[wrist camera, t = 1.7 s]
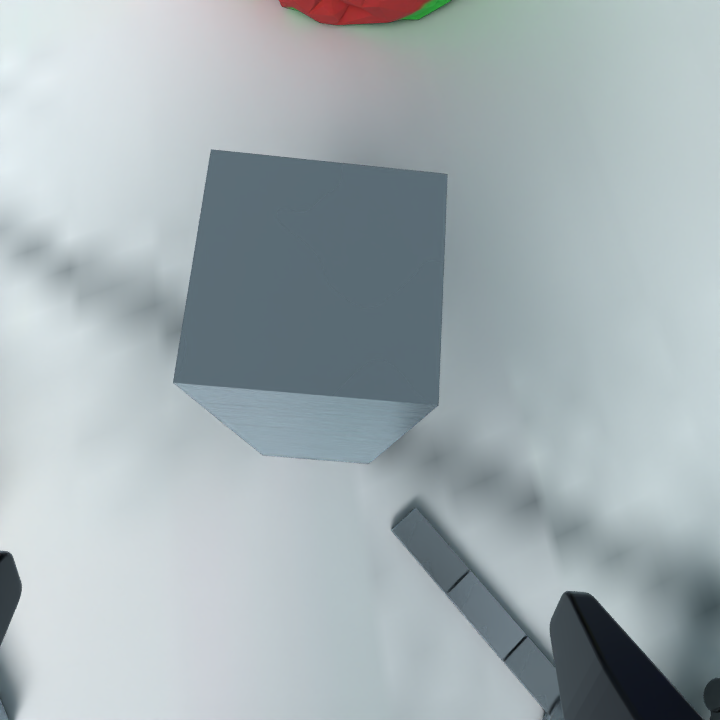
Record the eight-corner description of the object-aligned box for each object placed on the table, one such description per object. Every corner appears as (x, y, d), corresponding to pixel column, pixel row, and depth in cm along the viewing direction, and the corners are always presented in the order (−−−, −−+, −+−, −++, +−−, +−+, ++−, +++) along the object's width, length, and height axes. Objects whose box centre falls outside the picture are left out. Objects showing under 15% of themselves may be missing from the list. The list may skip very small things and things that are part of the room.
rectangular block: (369, 463, 21) (438, 405, 8) (262, 455, 21) (172, 382, 8) (376, 361, 22) (447, 173, 10) (274, 352, 22) (211, 149, 9)
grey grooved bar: (645, 733, 19) (655, 741, 19) (587, 802, 19) (596, 812, 18) (431, 491, 21) (435, 491, 20) (372, 547, 20) (374, 548, 20)
